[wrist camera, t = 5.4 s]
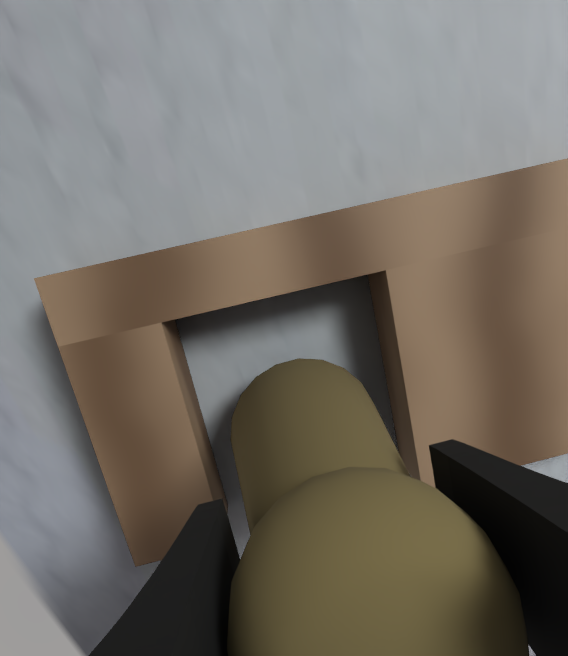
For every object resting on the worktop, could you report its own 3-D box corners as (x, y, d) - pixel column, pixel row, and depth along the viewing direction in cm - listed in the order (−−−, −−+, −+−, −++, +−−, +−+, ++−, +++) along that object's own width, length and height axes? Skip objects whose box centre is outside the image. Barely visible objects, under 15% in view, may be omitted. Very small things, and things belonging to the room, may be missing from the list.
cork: (345, 334, 16) (531, 443, 5) (398, 465, 17) (652, 786, 6) (205, 395, 16) (110, 631, 5) (266, 524, 17) (291, 957, 6)
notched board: (573, 159, 18) (626, 145, 15) (589, 412, 20) (637, 434, 18) (64, 273, 17) (33, 278, 14) (149, 525, 19) (135, 566, 17)
